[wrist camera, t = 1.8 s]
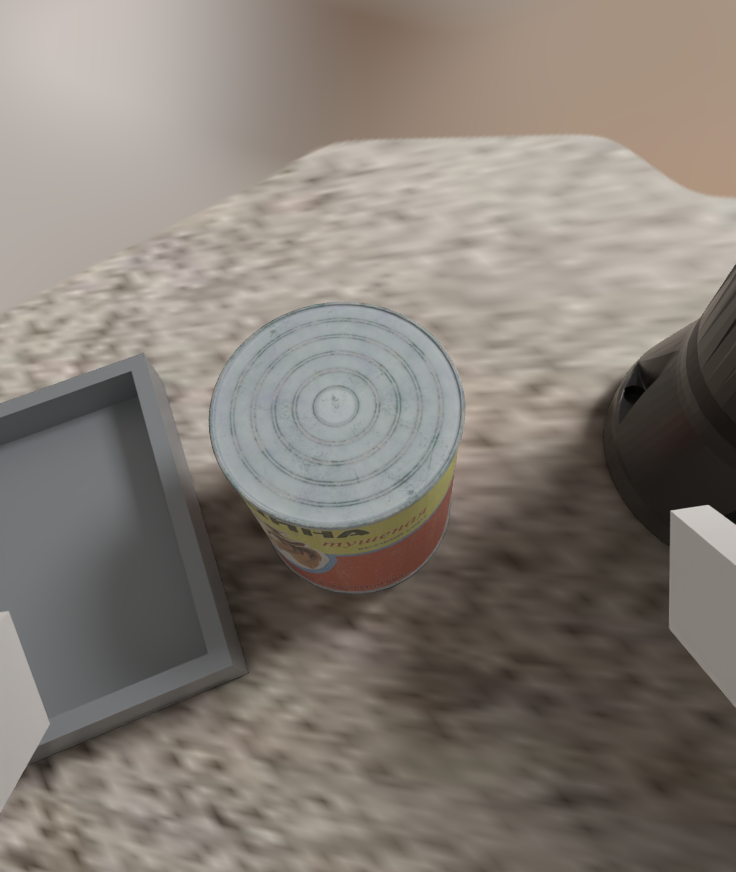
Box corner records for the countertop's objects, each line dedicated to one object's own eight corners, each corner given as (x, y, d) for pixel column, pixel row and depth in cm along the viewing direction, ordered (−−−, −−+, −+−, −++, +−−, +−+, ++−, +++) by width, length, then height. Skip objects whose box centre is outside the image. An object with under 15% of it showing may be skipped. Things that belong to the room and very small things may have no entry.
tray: (162, 381, 44) (143, 352, 41) (248, 672, 35) (232, 665, 32) (-76, 467, 42) (-115, 444, 39) (-46, 795, 33) (-94, 800, 30)
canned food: (225, 514, 39) (156, 425, 29) (345, 386, 43) (324, 264, 32) (369, 635, 36) (350, 586, 25) (487, 485, 39) (516, 384, 28)
